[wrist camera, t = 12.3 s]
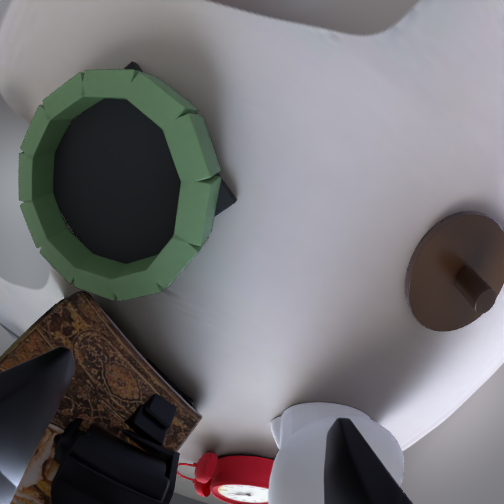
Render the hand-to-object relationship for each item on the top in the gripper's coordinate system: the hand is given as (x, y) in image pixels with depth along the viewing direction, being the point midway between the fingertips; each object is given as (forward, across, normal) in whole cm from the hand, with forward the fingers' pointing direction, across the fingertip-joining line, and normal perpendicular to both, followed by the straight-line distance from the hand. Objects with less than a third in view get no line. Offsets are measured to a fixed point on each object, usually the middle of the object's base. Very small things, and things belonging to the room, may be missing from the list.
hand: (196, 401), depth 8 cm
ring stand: (+11, -15, -3) cm, 19 cm away
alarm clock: (+12, -5, +29) cm, 32 cm away
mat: (+12, +9, -4) cm, 15 cm away
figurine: (+12, -12, +14) cm, 22 cm away
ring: (+11, +9, -3) cm, 15 cm away
